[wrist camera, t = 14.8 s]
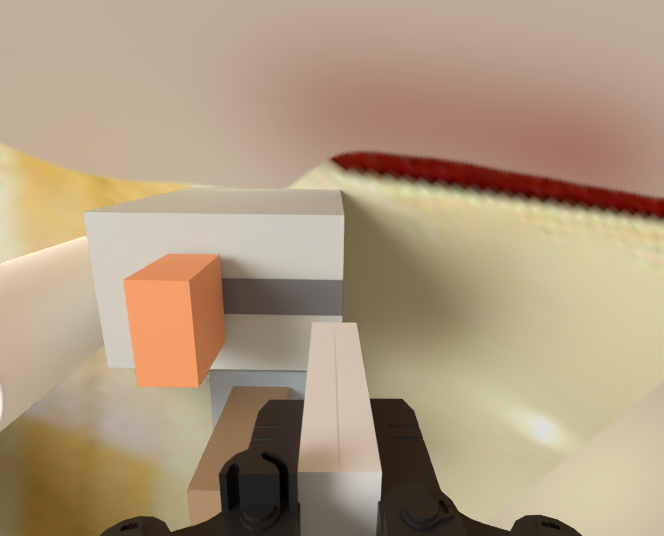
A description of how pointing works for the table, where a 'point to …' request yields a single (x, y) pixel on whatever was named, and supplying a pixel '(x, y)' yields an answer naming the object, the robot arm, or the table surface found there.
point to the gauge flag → (176, 319)
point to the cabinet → (230, 265)
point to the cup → (45, 323)
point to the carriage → (235, 426)
